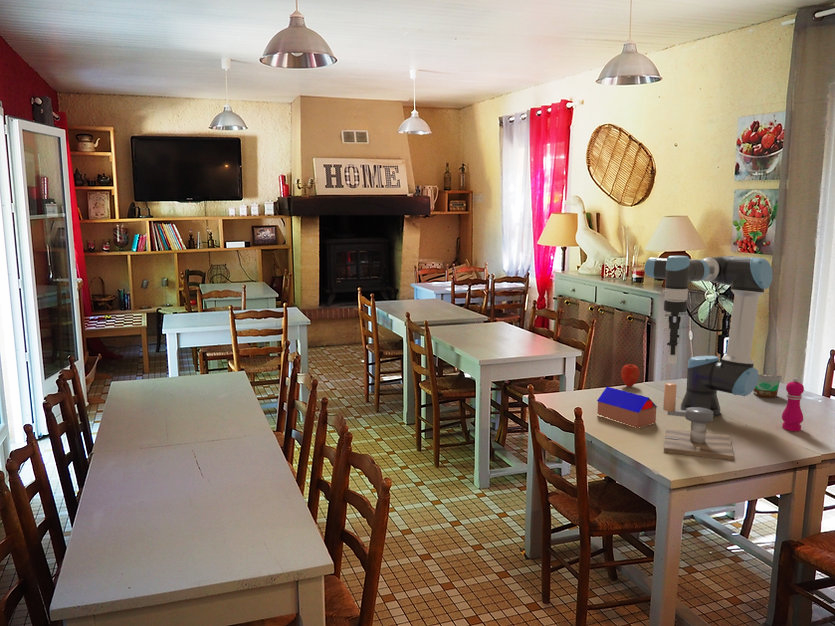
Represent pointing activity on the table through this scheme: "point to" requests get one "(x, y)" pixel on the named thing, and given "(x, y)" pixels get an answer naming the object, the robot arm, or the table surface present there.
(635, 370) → the apple
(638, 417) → the house
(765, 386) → the food container
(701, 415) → the crank handle
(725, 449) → the post base
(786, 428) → the pepper mill
